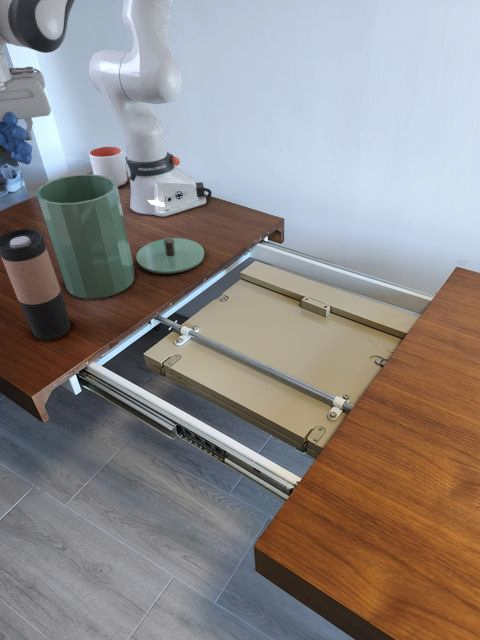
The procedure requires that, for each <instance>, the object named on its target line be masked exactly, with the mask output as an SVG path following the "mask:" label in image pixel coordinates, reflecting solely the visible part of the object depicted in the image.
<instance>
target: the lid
mask: <svg viewBox="0 0 480 640" xmlns="http://www.w3.org/2000/svg"><path fill="white" fill-rule="evenodd" d="M135 258H136V263H137V264H138V266H139V267H140V268H142V269H143V270H144V271H146V272H150V273H155V274H165V275H167V274H168V275H169V274H170V275H171V274H177V273H183V272H185V271H189V270H191V269H193V268H195V267H197V266H198V265H200V263H202V261H203V260H204V258H205V250H204V248H203V246H202V245H201V244H200V243H198V242H196V241H195V240H192V239H188V238H182V237H181V238H180V237H170V238H169V237H168V238H167V237H166V238H162V239H157V240H153V241H151V242H148V243H147V244H145V245H143V246H142V247H141V248H140V249H138V251H137V253H136V256H135Z"/></svg>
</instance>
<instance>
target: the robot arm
mask: <svg viewBox="0 0 480 640" xmlns="http://www.w3.org/2000/svg"><path fill="white" fill-rule="evenodd" d="M75 1H76V0H0V122H4V121H3V117H4V115H5V114H6V113H7V112H11V113H13V114H14V115H15V116H16V117H17V119H18V121H20V120H24V122H25V124H26V128H25V130H26V131H27V136H26V139H25V142H28V141H33V136H32V134H31V132H32V129H33V125H34V122H33V119H34V118H40V117H47V116H50V115H51V113H52V107H51V105H50V102H49V99H48V97H47V93H46V92H45V88H46V81H45V78H44V75H43V73H42V72H41V71H40V69H37V68H34V67H33V66H26V67H10V66H9V63H8V59H7V56H6V54H5V49H4V45H5V44H7V45H13V46H17V47H22V48H28V49H30V50H33V51H36V52H38V53H45V54H48V53H52V52H54V51H56V50H58V49H59V48H60V47H61V46H62V44H63V43H64V40H65V38H66V34H67V28H68V24H69V23H68V22H69V18H70V14H71V10H72V7H73V5H74V3H75ZM173 1H174V0H123V3H122V8H121V19H122V21H123V23H124V25H125V27H126V28H127V30H128V31H129V32H130V33H131V34H132V42H133V44H132V49H131V50H130V49H129V50H128V49H121V48H108V49H103V50H99V51H96V52H95V53H93V54H92V56H91V57H90V60H89V64H88V74H89V79H90V82H91V83H92V85H93V88H95V90H96V91H98V93H100V94H101V95H102V96H103V97H104V99H105V100H106V102H107V103H108V105H109V106H110V109H111V110H112V112H113V114H114V116H115V119H116V120H117V122H118V125H119V128H120V131H121V136H122V140H123V144H124V149H125V155H126V156H125V168H126V174H127V177H128V178H129V184H130V198H129V199H130V201H129V208H130V209H131V210H132V211H133V212H135V213H138V214H142V215H151V216H153V215H154V216H156V217H162V218H165V217H168V216H172V215H175V214H179V213H182V212H185V211H187V210H190V209H194V208H196V207H200V206H203V205H206V203H207V198H208V199H210V198H211V197H212V194H213V193H212V190H211V189H210V188H207V187H205V186H204V182H203V181H201V182H196V181H195V179H194V177H192V176H191V175H190V174H189V173H187V172H186V171H185V170H183V169H182V168H179V167H177V166H179V165H180V164H181V160H180V158H178V157H177V156H175V155H173V154H172V153H170V152H168V151H167V143H166V135H165V129H164V128H165V127H164V125H163V122H162V121H161V120H160V119H159V117H158V116H156V115H155V114H154V113H153V112H152V111H151V109H150V107H149V105H148V104H152V105H163V104H170V103H173V102H175V101H176V100H177V98H179V95H180V93H181V91H182V86H183V78H182V71H181V70H180V67H179V65H178V64H177V62H176V61H175V59H174V58H173V56H172V54H171V51H170V46H169V27H170V26H169V25H170V20H171V13H172V7H173ZM205 192H206V193H207V195H206V193H205Z"/></svg>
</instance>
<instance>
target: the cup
mask: <svg viewBox="0 0 480 640" xmlns="http://www.w3.org/2000/svg"><path fill="white" fill-rule="evenodd" d="M88 156H89V160H90V165H91V169H92V174H95V175H102V176H106V177H109V178H111V179H113V180H114V181H115V182H116V184H117V187H118V188H119V187H122V186H124V185H125V184H126V183H127V182H128V173H127V168H126V162H125V158H124V152H123V150H122V148H121V147H117V146H101V147H97V148H93V149H91V150H90V151H89V152H88Z"/></svg>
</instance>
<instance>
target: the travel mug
mask: <svg viewBox="0 0 480 640" xmlns="http://www.w3.org/2000/svg"><path fill="white" fill-rule="evenodd" d="M0 257H1V261H2V262H3V263H2V264H3V265H4V269H5V270H6V273H7V275H8V278H9V280H10V284H11V285H12V289H13V291H14V293H15V296H16V299H17V301H18V303H19V305H20V307H21V310H22V311H23V314H24V316H25V318H26V320H27V321H26V322H27V323H28V325H29V327H30V330H31V331H32V334H33V336H34V337H35V338H37V339H39V340H42V341H50V340H55V339H58V338H61V337H63V336H64V335H66V334H67V333H68V332H69V331H70V329H71V321H70V317H69V314H68V310H67V307H66V304H65V301H64V296H63V293H62V289H61V286H60V285H59V281H58V278H57V275H56V272H55V269H54V266H53V262H52V260H51V257H50V254H49V251H48V249H47V245H46V243H45V240H44V236H43V234H42V232H41V231H40V230H37V229H34V228H20V229H19V228H18V229H14V230H11V231H7V232H6V233H4V234H2V235H0Z"/></svg>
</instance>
